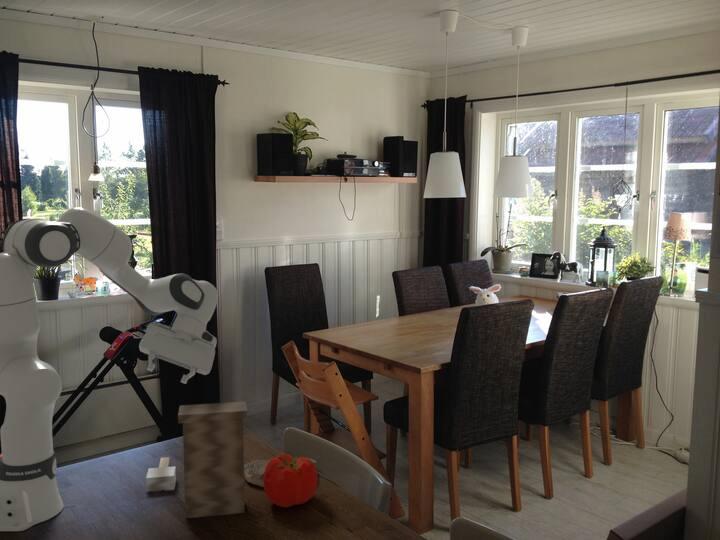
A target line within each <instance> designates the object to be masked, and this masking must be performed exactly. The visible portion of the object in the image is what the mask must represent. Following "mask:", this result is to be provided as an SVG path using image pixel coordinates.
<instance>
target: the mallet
mask: <svg viewBox="0 0 720 540" xmlns="http://www.w3.org/2000/svg"><path fill="white" fill-rule="evenodd" d="M170 459H171V457H170V456H168V457H167V456H166V457H160V461H159V465H158V467H151V468H148V470H147V473H146V476H145V484H146V493H150V492H149V491H153V492H161V490H165V491H174V490H175V487H176V483H177V482H176V481H177V473H176V471H177V469H176V466H170V464H171V463H170V462H171V460H170Z"/></svg>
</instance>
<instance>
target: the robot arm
mask: <svg viewBox="0 0 720 540" xmlns="http://www.w3.org/2000/svg"><path fill="white" fill-rule="evenodd" d="M75 253H76V254H78V255H79V256H80V257H82V258H83V259H85V260H86V261H89V262H90V263H91V264H93V265H95V266H96V267H97V268H98V270H99V271H100V272H101V273H102V274H103V275H104V277H106V278H107V279H108V280H110V281H111V282H112V283H113V284H114V285H116V286H117V287H119V288H120V289H122V290H123V291H124V292H125V293H126V294H128V295H129V296H131V297H132V298H133V300H134V301H135V302H136V304H137V305H138V306H139V307H140V309H142V310H143V312H145V313H146V314H148V315H151V316H159V315H163V314H164V313H167V312H171V311H174V312H175V313H176V314H177V315H176V317H175V319H174V322H173V324H172V325H171V326H169V325H166V324H162V323H161V322H158V321H156V322H150V323H149V324H148V325H147V327H146V328H145V334H144V335H143V337H142V338H141V340H140V342H139V345H138V348H139V351H140V352H141V353H144V354H146V355H148V358H147V359H148V365H147V367H146V370H147V371H149V372H153V371H154V369H155V367H156V364H155V363H154V362H153V360H154V359H155V358H157V359H160V360H163V361H165V362H168V363H171V364H173V365H177V366H179V367H182V368H183V369H188V370H189V373H187V374H182V377H181V379H180V383H182V384H185V385H186V384H187V382H188V380H189V379H191V378H192V377H194V376H195V375H196V373H198V374H201V375H203V376H206V375H209V374H210V373H211V370H212V367H213V363H214V359H215V355H216V347H217V337H215V336H214V335H212V334H211V333H210V332H209V331H208V330H207V324H208V322H209V321H211V319H212V316H213V315H214V313H215V310H216V307H217V304H218V299H219V294H218V289H217V288H216V287H215V285H213V284H212V283H210V282H209V281H206V280H196V279H193V278H192V277H191V276H190V275H188V274H185V273H184V272H183V273H182V272H181V273H176V274H175V273H174V274H171V275H167V276H165V277H160V278H155V279H154V278H153V279H152V278H151V279H150V278H146V277H144V276H143V275H142V274H141V273H139V272H138V271H137V270H135V268H133V267H132V266H130V264H129V262H130V259H131V257H132V255H133V243H132V240H131V238H130V237H129V235H128V234H127V233H125V231H123V230H122V229H121V228H120V227H118V226H117V225H115V224H114V223H112V222H111V221H109V220H108V219H106V218H104V217H102V216H100V215H99V214H97V213H95V212H93V211H91V210H89V209H86V208H84V207H80V206H78V207H77V206H75V207H71V208H69V209H68V210H66V211H65V212H63V213H62V214H61V216H60V217H59V219H58V220H57V221H52V220H47V219H43V218H21V219H18V220H16V221H13V222H12V223H11V224H9V226H8V227H7V228H6V229H5V231H4V234H3V237H2V241H1V244H0V395H1V396H2V397H3V398H4V400H5V404H6V405H5V407H6V408H5V409H6V410H5V416H4V421H3V424H2V425H1V426H0V447H1V450H0V451H1V453H0V532H23V531H25V530H27V529H30V528H31V527H33V526H35V525H37V524H40V523H42V522H46V521H48V520H50V519H51V518H53V517H55V516H57V515H58V514H59V513H60V512H61V511H62V510H63V509H64V502H63V500H62V497H61V494H60V491H59V487H58V483H57V478H56V475H57V472H58V471H57V467H58V466H57V458H56V453H55V451H54V443H53V417H54V410H55V406H56V401H58V399H59V398H60V396H61V393H62V390H63V380H62V378H61V375H59V373H58V372H57V370H56V369H55V368H54V367H53V366H52V365H51V364H49V363H48V362H45V361H43V360H41V359H40V358H39V355H38V349H37V348H38V336H39V333H40V332H41V329H42V324H41V320H40V313H39V307H38V302H37V295H36V290H35V286H34V285H35V284H34V283H35V282H34V279H35V275H36V272H37V269H38V267H41V268H49V269H50V268H56V267H59V266H62V265H64V264H65V263H66V262H67V261H68V260H70V259H71V258H72V256H74V254H75Z"/></svg>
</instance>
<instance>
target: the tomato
mask: <svg viewBox="0 0 720 540" xmlns="http://www.w3.org/2000/svg"><path fill="white" fill-rule="evenodd" d="M297 458H299V459H297ZM308 458H309V457H308ZM308 458H307V457H305V456H301V457H299V456H295V457H292V456H291V455H289V454H286V453H279V454H277V455H276V457H274V458H272V457H271V458H270V459H271V460H270V459H269V460H270V461H269V462H268V464H267V466H266V469H265V472H264V476H263V485H264V487H263V488H264V489H263V490H264V493H265V496H266V497H267V499H268V501H270V502H271V503H273V504H275V505H276V506H278V507H280V508H290V507H292V506H294V505H296V506H297V505H298V506H300V505H303V504H306V503H307V502H308V501H310V500H311V499H312V498H313V497H314V494H315V493H316V492H317V489H318V488H317V487H318V469H317V466H316V467H315V465H314V463H313V462H312V461H311V460H310V459H311V458H309V459H308ZM296 459H297V460H296Z"/></svg>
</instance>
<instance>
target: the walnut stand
mask: <svg viewBox="0 0 720 540" xmlns="http://www.w3.org/2000/svg"><path fill="white" fill-rule="evenodd" d="M247 405H248V404H247V401H231V402H229V401H228V402H216V403H201V404H200V403H199V404H184V405H183V404H182V405H179V408H178V413H177V423H178V424H182V436H183V438H182V439H183V440H182V442H183V443H182V444H183V447H182V449H183V471H184V474H183V475H184V476H183V477H184V480H183V481H184V504H185V505H184V507H185V508H184V510H185V519H193V518H202V517H204V518H205V517H215V516H223V515H224V516H225V515H236V514H244V513H246V512H245V509H246V508H245V506H246V505H245V502H246V501H245V474H244V465H245V460H244V458H245V457H244V456H245V455H244V453H245V452H244V447H245V446H244V420H248V407H247Z"/></svg>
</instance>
